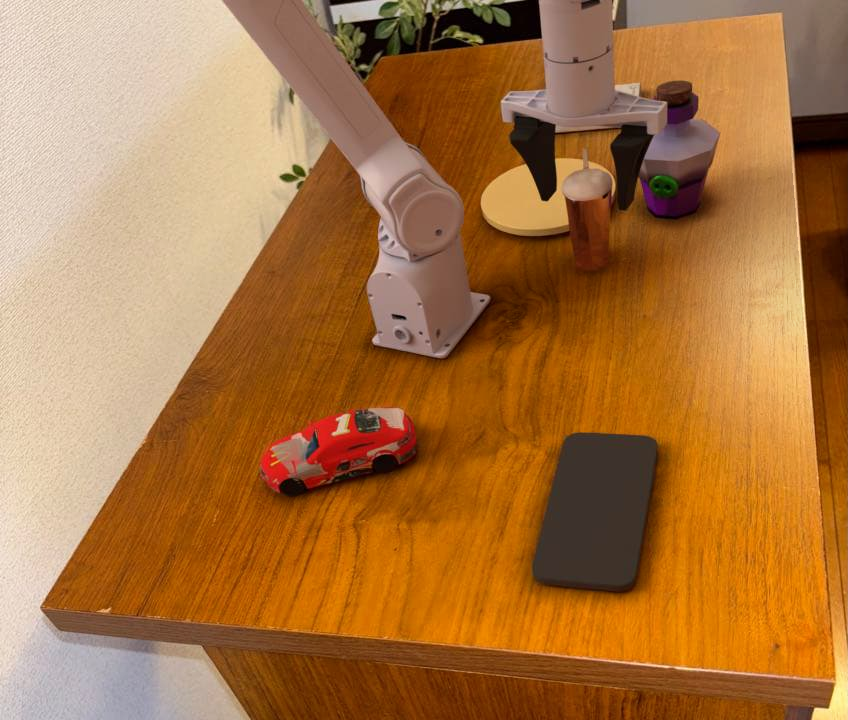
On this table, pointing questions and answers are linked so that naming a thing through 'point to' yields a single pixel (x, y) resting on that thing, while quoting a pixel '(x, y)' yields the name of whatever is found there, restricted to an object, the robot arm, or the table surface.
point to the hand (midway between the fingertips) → (586, 200)
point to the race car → (339, 449)
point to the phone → (596, 512)
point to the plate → (530, 201)
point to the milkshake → (588, 215)
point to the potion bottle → (678, 155)
